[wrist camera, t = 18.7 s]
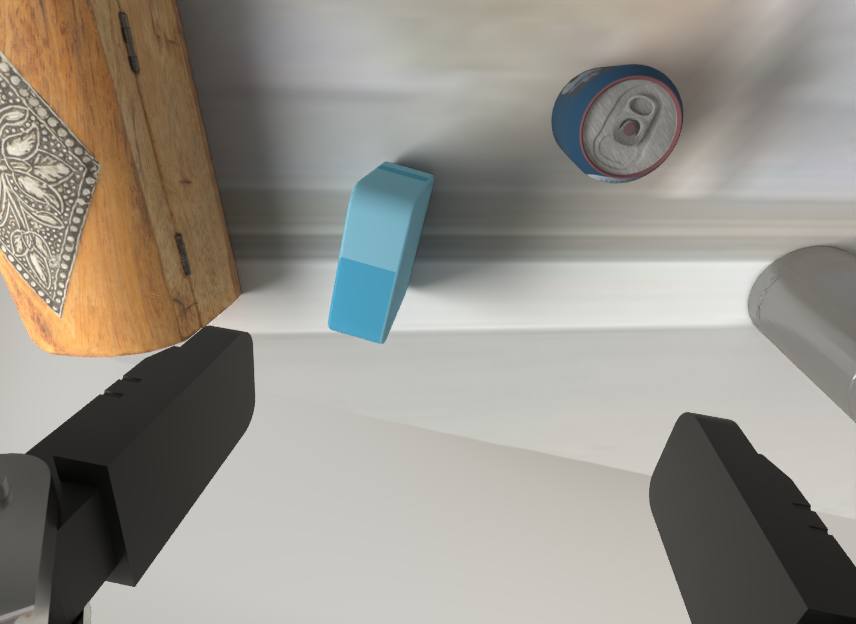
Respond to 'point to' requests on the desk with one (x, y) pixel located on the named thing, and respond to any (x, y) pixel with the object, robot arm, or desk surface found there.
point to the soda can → (618, 121)
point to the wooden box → (107, 179)
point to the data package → (378, 250)
